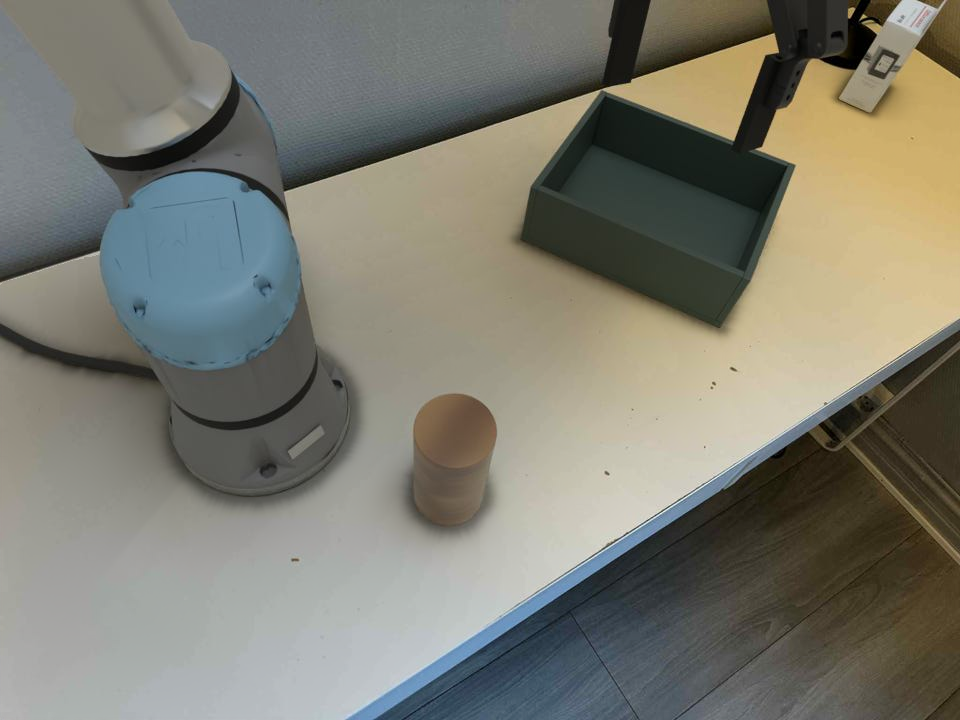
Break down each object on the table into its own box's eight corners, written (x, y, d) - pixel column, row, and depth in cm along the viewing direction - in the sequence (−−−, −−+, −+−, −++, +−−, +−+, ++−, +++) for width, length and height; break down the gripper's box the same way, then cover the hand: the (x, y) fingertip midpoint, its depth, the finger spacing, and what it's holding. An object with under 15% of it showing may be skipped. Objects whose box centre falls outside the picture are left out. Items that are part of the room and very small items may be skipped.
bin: (520, 239, 74) (530, 186, 68) (587, 143, 85) (601, 89, 78) (719, 328, 70) (751, 280, 63) (765, 215, 80) (796, 164, 73)
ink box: (856, 73, 99) (919, -30, 86) (888, 87, 97) (957, -15, 85) (836, 99, 94) (900, -5, 82) (869, 114, 93) (939, 11, 81)
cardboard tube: (400, 504, 56) (397, 442, 46) (435, 449, 60) (440, 380, 49) (461, 539, 55) (472, 482, 45) (494, 480, 58) (511, 416, 48)
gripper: (1043, -230, 33) (844, 171, 47) (668, -257, 47) (602, 56, 61) (974, -247, 29) (781, 193, 43) (591, -272, 43) (540, 66, 57)
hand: (676, 114), depth 52 cm, fingers open, 13 cm apart
